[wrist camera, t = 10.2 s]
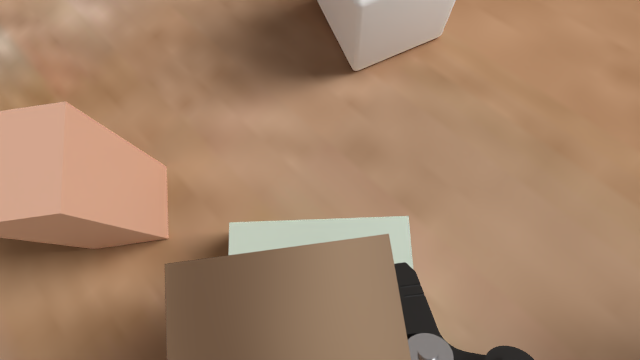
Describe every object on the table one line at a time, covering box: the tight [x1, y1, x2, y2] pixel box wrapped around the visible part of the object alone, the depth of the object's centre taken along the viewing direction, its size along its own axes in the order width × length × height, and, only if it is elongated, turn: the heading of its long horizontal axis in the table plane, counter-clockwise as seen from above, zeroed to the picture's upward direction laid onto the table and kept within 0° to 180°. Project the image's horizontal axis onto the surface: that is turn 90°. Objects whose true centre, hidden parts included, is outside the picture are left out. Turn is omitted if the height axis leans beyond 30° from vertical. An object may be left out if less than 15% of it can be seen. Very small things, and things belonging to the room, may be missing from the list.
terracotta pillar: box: [0, 102, 169, 249], centre depth 21 cm, size 5×5×10 cm
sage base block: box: [228, 216, 413, 269], centre depth 22 cm, size 10×10×4 cm
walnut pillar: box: [165, 234, 411, 360], centre depth 13 cm, size 5×5×10 cm
